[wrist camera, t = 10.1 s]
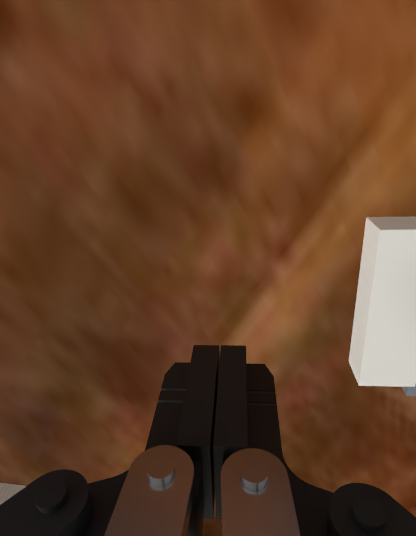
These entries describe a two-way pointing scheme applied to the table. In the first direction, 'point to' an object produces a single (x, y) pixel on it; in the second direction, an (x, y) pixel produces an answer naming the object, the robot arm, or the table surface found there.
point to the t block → (386, 305)
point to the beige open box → (8, 491)
